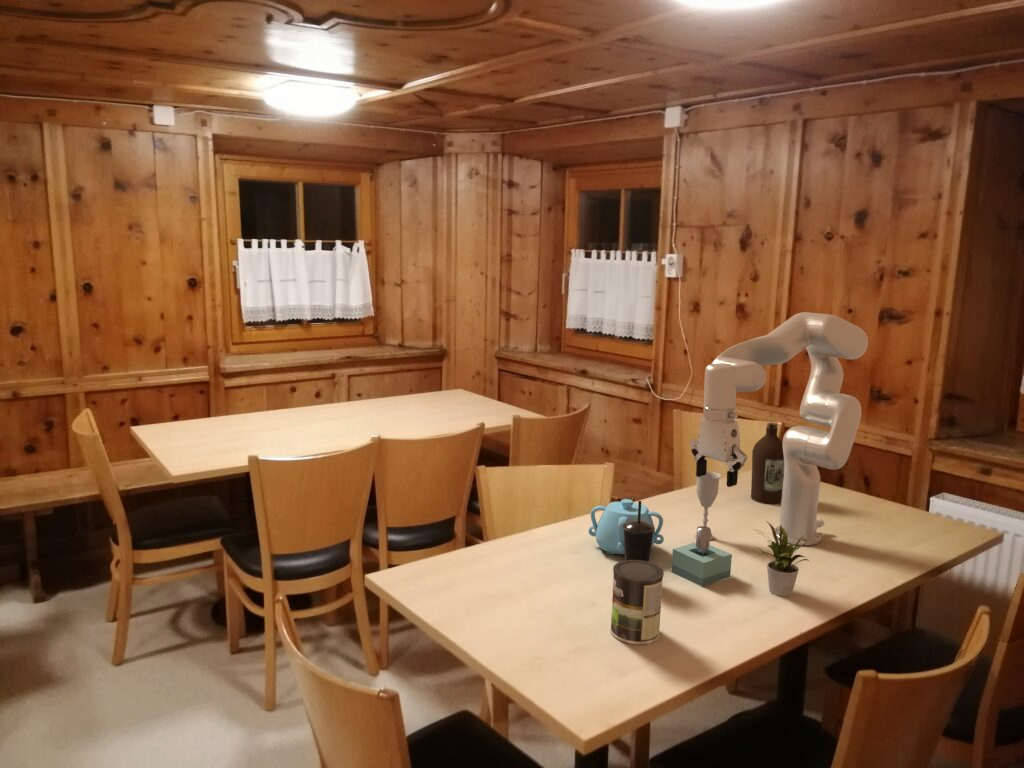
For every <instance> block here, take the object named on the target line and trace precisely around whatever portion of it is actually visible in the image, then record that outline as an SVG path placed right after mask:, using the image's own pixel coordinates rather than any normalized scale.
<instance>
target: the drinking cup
mask: <svg viewBox="0 0 1024 768" xmlns="http://www.w3.org/2000/svg"><path fill="white" fill-rule="evenodd" d="M641 504H642V500H638V520H634V521H630V522H626V523H624V524H623V526H622V528H623V530H624V549H625V555H624V561H625V560H642V561H647V562H650V557H651V551H652V550H651V549H652V548H651V544H652V538H653V532H654V531H655V532H656V528H655V525H654V526H653V525H652V524H650V523H647V522H645V521H640V519H641Z"/></svg>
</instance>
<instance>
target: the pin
mask: <svg viewBox="0 0 1024 768" xmlns="http://www.w3.org/2000/svg"><path fill="white" fill-rule="evenodd" d="M710 531H711V532H712V528H710V527H708V526H707V527H705V526H703V525H699V526H697V527H696V533H697V537H695V538H696V540H695V542H696V551H695V554H697V555H700V556H702V557H704V556H707V555H709V545H711V544H710V542H711V540H710Z"/></svg>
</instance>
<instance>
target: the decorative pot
mask: <svg viewBox="0 0 1024 768" xmlns="http://www.w3.org/2000/svg"><path fill="white" fill-rule="evenodd" d="M596 511H602V514H601V517H600V518H599V521H598V522H597V520H596V519H597V518H596V514H595V513H596ZM652 516H653V517H656V518H657V519H658V525H657V528H656V529H655V531H654V532H653V538H652V544H651V549H652V548H653V546H654V545H661V544H663V543H664V540H665V538H664V536H663V535H662V534H660V532H661V530H662V527H663V525H664V518H663V516H662V515H661V514H660V513H659V512H657V511H654V510H651V511H649V509H648V507H647V506H646V505H644V504H642V503H641V519H640V521H645V522H647V523H650V524H652V525H653V526H654V527H655V524H654V521H653V518H652ZM590 519H591V523H592V526H589V527H588V535H590V536H591V537H595V540H596V542H597V544H598V546H599V548H601V550H602V551H605V552H606V554H608V555H615V554H618V555H624V556H625V549H624V530H623V528H622V526H623V524H624V523H626V522H630V521H634V520H638V503H637V502H635V501H633V500H632V499H629V498H628V499H627V498H623V499H621V501H612V502H610V503H609V504H607V506H604V505H596V506H595V507H593V508H592V509H591V511H590ZM593 530H594V531H593ZM658 538H659V540H658Z"/></svg>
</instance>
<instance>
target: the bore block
mask: <svg viewBox="0 0 1024 768" xmlns="http://www.w3.org/2000/svg"><path fill="white" fill-rule="evenodd" d="M695 551H696V541H695V542H693V543H689V544H684V545H682V546H678V547H674V548H672V554H671V556H672V557H671V573H674V574H675V575H677V576H680V577H681V578H683V579H685V580H688V581H690V582H692V583H693V584H696V585H698V586H700V587H706V586H708V585H712V584H714V583H717V582H720V581H723V580H726V579H729V578H731V571H732V557H733V556H732V553H730V552H727V551H725V550H723V549H720V548H718V547H716V546H714V545H712V544H709V555H707V556H704V557H702V556H700V555H697V554H695Z"/></svg>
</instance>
